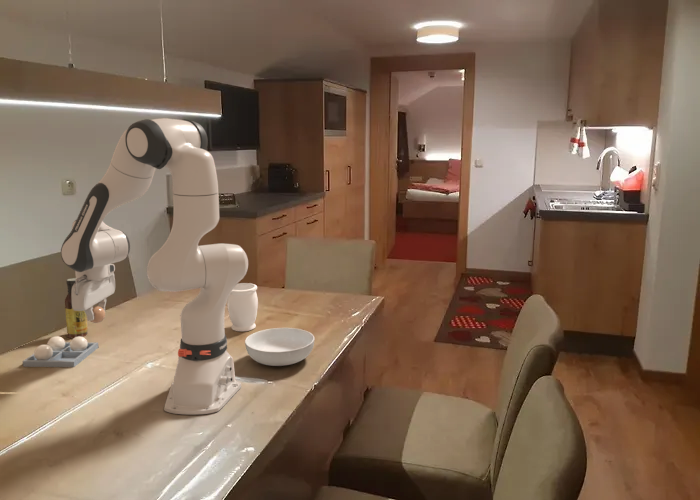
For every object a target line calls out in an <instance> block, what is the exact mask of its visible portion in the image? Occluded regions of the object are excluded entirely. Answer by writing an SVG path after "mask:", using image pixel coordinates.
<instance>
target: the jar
mask: <svg viewBox="0 0 700 500" xmlns="http://www.w3.org/2000/svg"><path fill="white" fill-rule="evenodd" d="M257 290H258V286H257V285H256V284H254V283H251V282H249V283H248V282H241V283H239V282H238V283H237V284H236V286H235V287H234V288H233V290H232V291H231V293H230V295H229V297H228V299H227V302H226V305H227V311H228V316H229V320H230V322H231V324H232V325H231V328H230V329H231V330H232V331H235V332H248V331H251V330H254V329H255V328H256V327H257V325H256V323H255V322H256V319H257V315H258V308H259V307H258V306H259V299H258V294H257Z"/></svg>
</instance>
